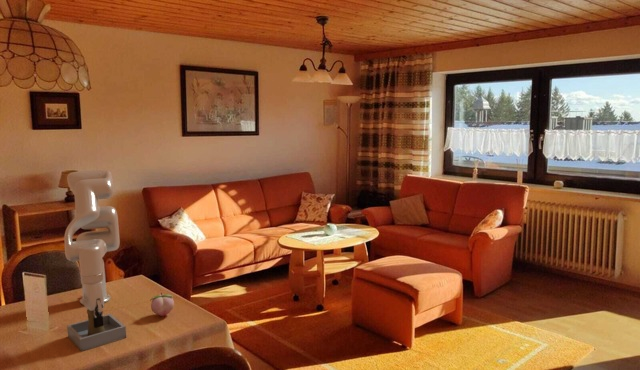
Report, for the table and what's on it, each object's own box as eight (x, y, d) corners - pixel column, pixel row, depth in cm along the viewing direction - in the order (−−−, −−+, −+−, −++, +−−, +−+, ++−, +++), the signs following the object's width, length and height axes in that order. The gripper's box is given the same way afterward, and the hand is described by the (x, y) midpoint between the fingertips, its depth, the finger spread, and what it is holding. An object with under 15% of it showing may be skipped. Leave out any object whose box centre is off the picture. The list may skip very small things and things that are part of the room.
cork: (98, 338, 186) (96, 310, 185) (84, 336, 188) (81, 308, 186) (108, 331, 192) (106, 303, 191) (94, 329, 193) (92, 302, 192)
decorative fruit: (172, 310, 215) (171, 287, 213) (176, 317, 207) (175, 293, 206) (149, 314, 210) (148, 291, 209) (152, 321, 203) (151, 297, 202)
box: (68, 336, 190) (66, 325, 190) (111, 324, 201) (110, 313, 200) (81, 351, 178) (80, 339, 178) (126, 337, 189) (125, 326, 188)
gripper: (74, 274, 190) (78, 319, 193) (89, 286, 177) (93, 334, 180) (94, 270, 195) (98, 314, 198) (110, 281, 182) (114, 328, 185)
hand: (95, 323), depth 189 cm, fingers open, 5 cm apart
